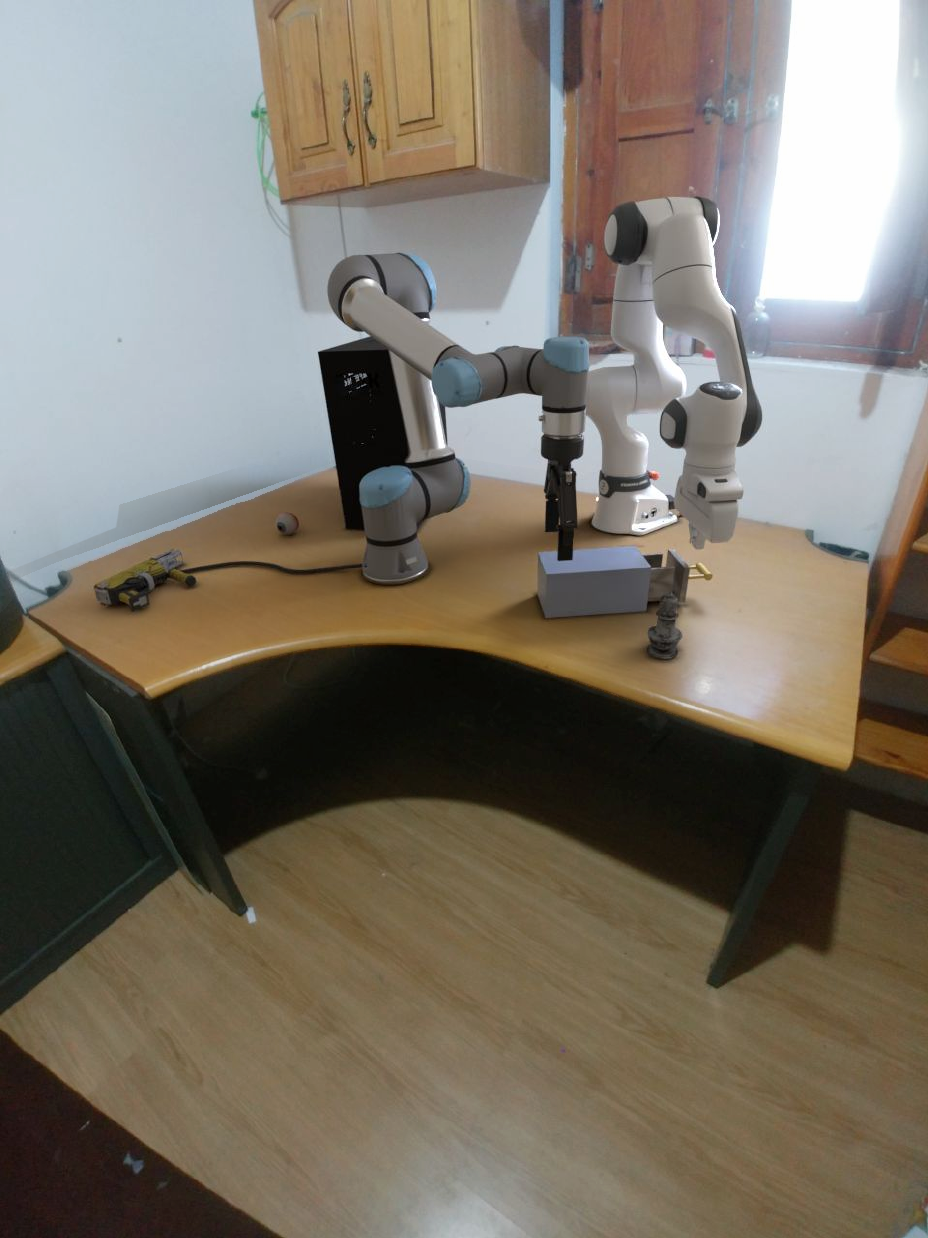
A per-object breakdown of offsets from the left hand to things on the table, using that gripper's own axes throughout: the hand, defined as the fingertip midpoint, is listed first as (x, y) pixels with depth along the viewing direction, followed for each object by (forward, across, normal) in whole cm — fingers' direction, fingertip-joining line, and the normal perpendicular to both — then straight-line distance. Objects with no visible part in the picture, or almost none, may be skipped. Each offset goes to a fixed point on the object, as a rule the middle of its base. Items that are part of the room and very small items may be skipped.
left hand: (557, 545), depth 117 cm
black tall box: (+14, -66, -34) cm, 75 cm away
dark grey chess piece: (+13, +20, +15) cm, 28 cm away
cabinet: (+13, 0, +7) cm, 15 cm away
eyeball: (+14, -49, -64) cm, 82 cm away
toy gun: (+14, -20, -88) cm, 92 cm away
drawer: (+12, 0, +18) cm, 22 cm away
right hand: (+2, 0, +27) cm, 27 cm away
